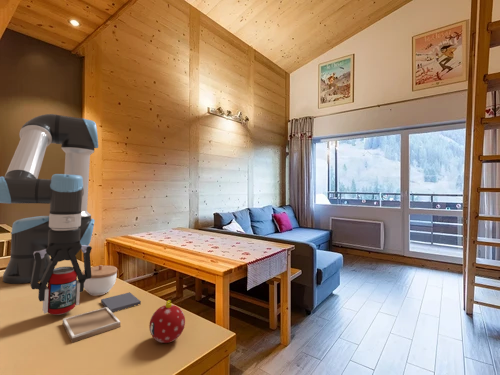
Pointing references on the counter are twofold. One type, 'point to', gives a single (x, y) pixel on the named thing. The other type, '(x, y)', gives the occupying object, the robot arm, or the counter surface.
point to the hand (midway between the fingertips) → (61, 307)
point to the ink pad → (120, 302)
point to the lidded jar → (100, 280)
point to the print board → (90, 324)
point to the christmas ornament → (167, 323)
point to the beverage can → (62, 290)
